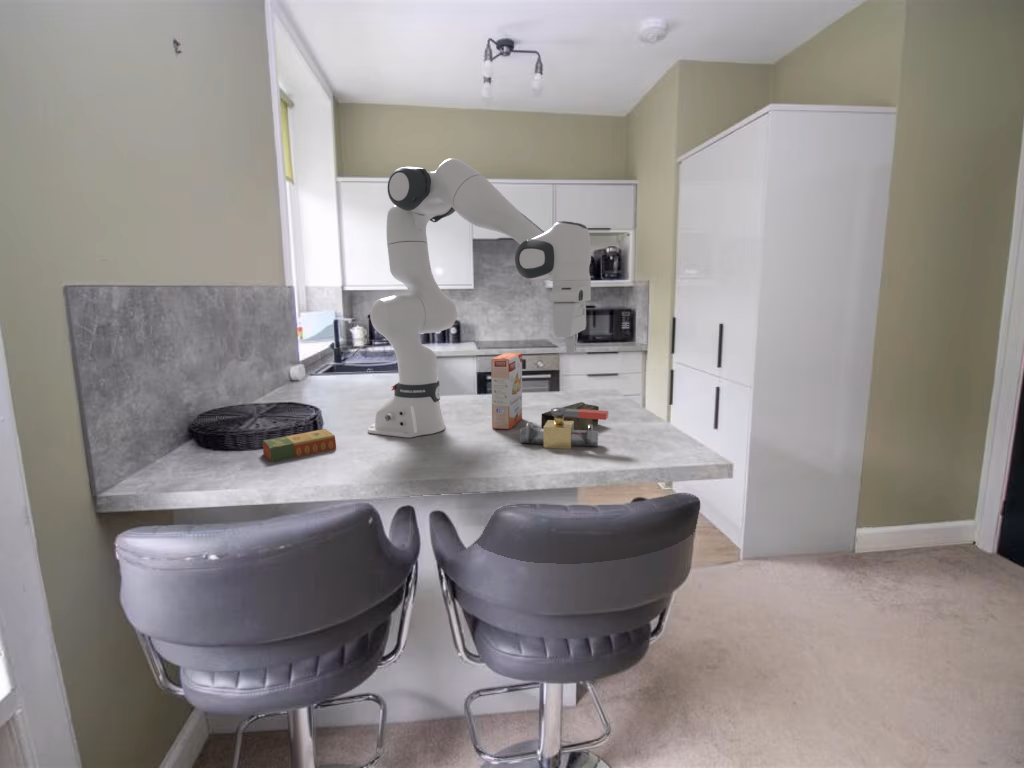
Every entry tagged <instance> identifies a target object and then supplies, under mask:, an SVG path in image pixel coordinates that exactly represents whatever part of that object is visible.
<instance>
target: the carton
mask: <svg viewBox="0 0 1024 768" xmlns="http://www.w3.org/2000/svg"><path fill="white" fill-rule="evenodd" d="M262 450H263V451H262V453H263V456H265V457H266V458H267V459H268V461H270V463H273V462H274V463H275V462H279V461H283V460H290V459H292V458H293V459H294V458H299V457H303V456H308V455H313V454H317V453H324V452H327V451H328V452H329V451H334V450H337V442H336V436H335V434H334V433H332V432H330V430H328V429H325V428H323V429H322V428H321V429H317V430H312V431H307V432H301V433H297V434H291V435H286V436H281V437H274V438H269V439H264V440H262Z"/></svg>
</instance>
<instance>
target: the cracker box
mask: <svg viewBox="0 0 1024 768" xmlns="http://www.w3.org/2000/svg"><path fill="white" fill-rule="evenodd" d="M490 366H491V367H490V369H491V370H490V372H491V424H492V425H491V428H492V429H496V430H506V431H507V430H509V431H510V430H511V429H512V428H514V426H515V425H517V423H519V422H520V421H521V420H522V419H523V353H519V352H504V353H503V354H499V355H497V356H495V357H492V358H491V359H490Z"/></svg>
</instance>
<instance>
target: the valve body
mask: <svg viewBox="0 0 1024 768" xmlns="http://www.w3.org/2000/svg"><path fill="white" fill-rule="evenodd" d="M593 428H594V426H593V425H591V424H588V428H587V429H586V430H574V421H564V416H561V417H557V416H554V420H548V421H547V422H546V424H545V425H544V427H543V429H542V428H539V427H536V428H535V427H533V422H532V421H526V424H525V427H521V428H520V432H519V442H520V443H522V444H537V445H538V444H540V445H543V448H545V449H560V450H562V449H564V450H571V449H572V447H573V446H578V447H598V446H599V430H594V429H593Z"/></svg>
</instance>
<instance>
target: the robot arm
mask: <svg viewBox="0 0 1024 768" xmlns="http://www.w3.org/2000/svg"><path fill="white" fill-rule="evenodd" d="M387 195H388V198H389V200H390V202H392V204H394V205H393V206H392V207H391V208H389V210H388V212H387V214H386V217H387V218H386V246H387V253H388V254H387V256H388V262H389V271H390V274H391V275H392V277H393V278H394V279H395V280H397V281H399V282H401V283H402V284H404V285H405V287H406V288H407V290H408V292H409V294H407V295H390V296H385V297H382V298H378V299H376V300H375V301H374V302H373V304H372V306H371V308H370V314H369V319H370V322H371V325H372V327H373V328H374V330H376V332H377V333H378V334H379V335H381V336H383V337H384V338H385V339H386V340H387V341H388V342H389V344H390V345H391V348H392V349H393V351H394V353H395V356H396V361H397V371H398V379H399V380H398V382H397V383H395V384H393V386H390V387H391V391H393V395H392V396H391V397H390V398H389V399H388V400H387V401H386V402H384V403H383V404H382V405H381V406H379V408H378V409H377V410H376V413H375V418H374V419H375V422H373V423H372V424H371V425H369V426H368V428H367V433H368V434H375V435H383V436H390V437H391V436H392V437H399V438H400V437H401V438H408V439H409V438H414V437H415V438H416V437H418V436H425V435H432V434H436V433H439V432H442V431H443V430H444V431H445V429H446V424H445V420H444V417H443V413H442V409H441V402H440V400H441V386H440V385H441V384H440V381H439V379H438V378H439V376H438V374H439V373H438V357H437V355H436V353H435V352H434V351H433V350H432V349H430V348H429V347H427V346H424V345H423V344H422V342H421V339H420V334H432V333H439V332H442V331H445V330H448V329H451V328H452V327H453V326H454V325H455V323H456V319H457V307H456V305H455V303H454V301H453V300H452V299H451V298H450V297H449V296H447V294H445V293H444V291H442V289H441V288H440V287H439V285H438V283H437V282H436V279H435V277H434V274H433V271H432V268H431V260H430V254H429V248H428V245H429V244H428V237H427V225H428V223H429V221H430V222H432V223H437V222H439V221H441V219H443V218H447V217H449V216H450V215H452V214H454V213H455V212H456V213H457V214H458V215H459V216H460V217H461V218H463V219H464V220H465V221H467V222H469V223H470V224H471V225H473V226H475V227H478V228H482V229H485V230H489V231H494V232H498V233H501V234H503V235H506V236H508V237H510V238H511V239H513V240H514V241H516V242H517V243H518V244H519V245H518V247H517V249H516V252H515V254H514V255H515V257H514V264H515V268H516V270H517V272H518V273H519V275H521V276H522V277H523V278H526V279H528V280H533V281H551V282H552V287H551V288H552V290H551V291H550V293H549V301H550V303H552V307H551V310H552V325H553V331H554V335H555V336H556V337H561V338H564V341H565V346H566V347H565V348H566V353H567V354H574V353H575V352H577V343H578V337H579V333H581V332H582V331H585V330H586V328H587V306H586V305H587V304H586V302H589V301H591V297H592V296H591V295H592V294H591V289H592V286H591V285H592V284H591V283H592V281H591V280H592V278H591V274H590V265H591V263H592V262H591V261H592V251H591V250H592V249H591V248H592V246H591V245H592V244H591V235H590V231H589V228H588V227H587V226H586V225H584V224H583V223H579V222H573V221H567V220H566V221H565V220H560V221H557V222H555V223H554V224H553V225H552V227H550V228H549V229H548V230H546V231H545V230H543V229H541V228H540V227H539V226H538V225H537V224H536V223H534V222H533V221H532V220H530V218H528V217H527V216H526V215H525V214H523V213H522V212H521V211H520V210H519V209H518V208H517V207H516V206H515V205H514V204H513V203H511V202H510V201H509V200H508V199H507V198H506V197H505V196H504V195H503V194H502V193H501V192H500V190H498V189H497V188H496V187H495V186H494V185H493V184H492V183H491V182H490V181H489V180H488V179H487V178H486V177H485V176H484V175H483V174H481V173H480V172H479V171H478V170H477V169H476V168H474V167H473V166H471V165H469V164H468V163H466V162H464V161H463V160H461V159H459V158H447V159H445V160H444V161H442V162H441V164H439V166H438V167H437V168H436V169H435V171H429V170H426V168H425V167H415V166H405V167H403V166H402V167H399V168H396V169H395V170H394V171H393V172H392V173H391V174H390V176H389V178H388V183H387Z"/></svg>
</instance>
